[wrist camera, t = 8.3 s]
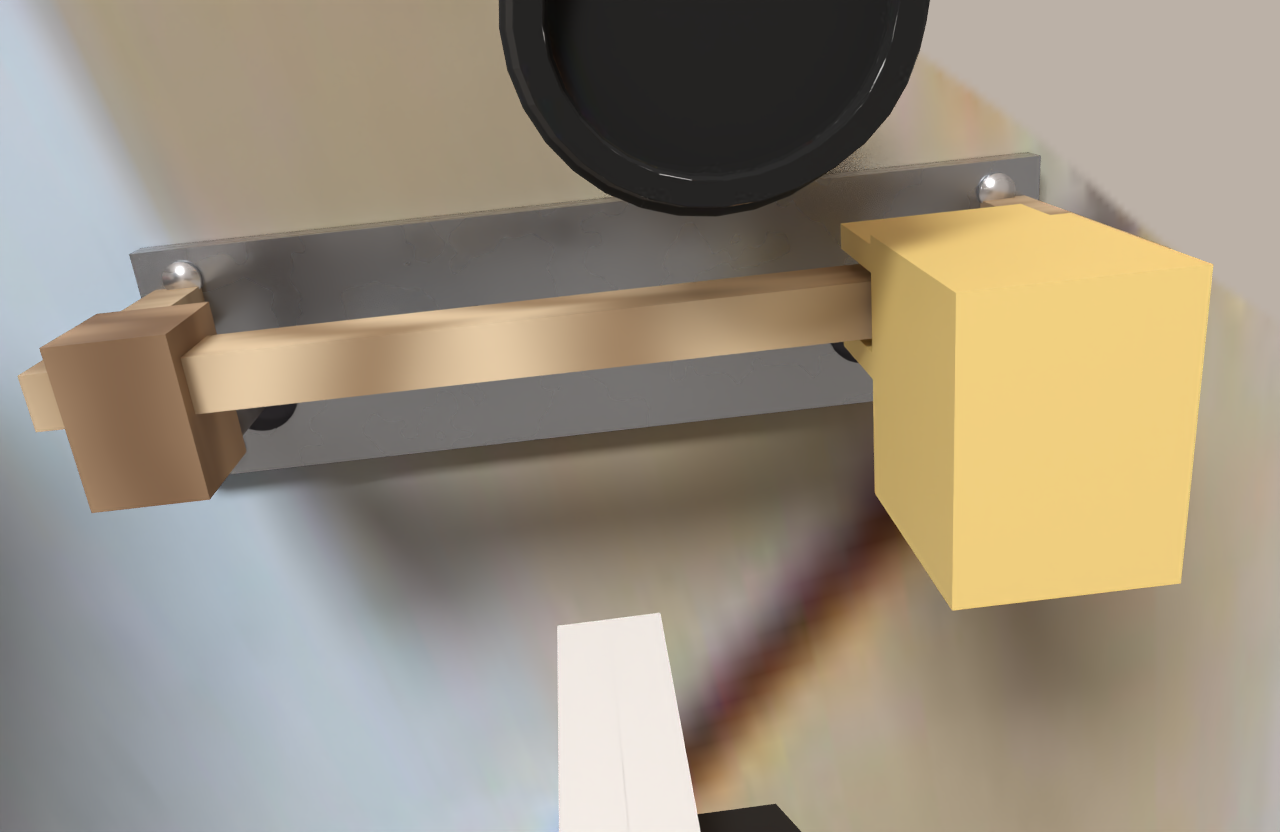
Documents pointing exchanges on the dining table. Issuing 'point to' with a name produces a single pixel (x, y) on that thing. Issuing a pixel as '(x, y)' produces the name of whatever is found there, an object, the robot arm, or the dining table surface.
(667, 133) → the coffee cup
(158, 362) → the bar
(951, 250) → the slider head
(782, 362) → the hole plate
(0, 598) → the dining table surface
